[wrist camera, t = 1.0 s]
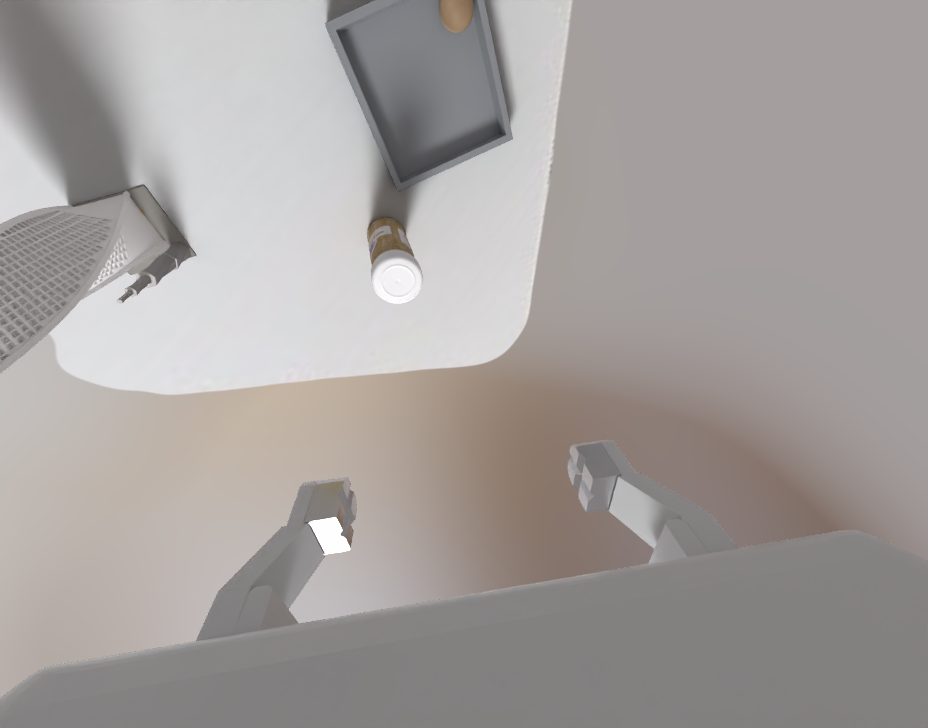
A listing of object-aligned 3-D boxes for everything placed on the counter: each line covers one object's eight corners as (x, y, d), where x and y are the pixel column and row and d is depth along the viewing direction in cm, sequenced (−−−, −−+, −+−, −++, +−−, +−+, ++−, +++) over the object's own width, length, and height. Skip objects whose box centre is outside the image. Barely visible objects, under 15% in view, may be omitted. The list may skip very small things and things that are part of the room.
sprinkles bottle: (366, 215, 38) (371, 254, 28) (406, 218, 40) (425, 257, 29) (367, 255, 41) (372, 305, 31) (405, 257, 42) (422, 305, 32)
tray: (326, 29, 29) (324, 23, 27) (466, -37, 29) (474, -47, 27) (396, 187, 37) (398, 191, 36) (504, 137, 37) (512, 139, 35)
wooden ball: (430, -4, 29) (437, -14, 27) (462, -19, 29) (471, -30, 27) (443, 41, 31) (450, 36, 29) (472, 27, 31) (482, 21, 29)
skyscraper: (118, 277, 36) (-229, 528, 15) (43, 197, 31) (-666, 402, 9) (197, 254, 37) (-26, 462, 15) (136, 171, 32) (-333, 309, 10)
